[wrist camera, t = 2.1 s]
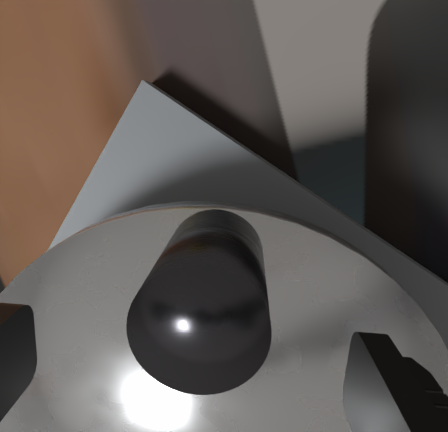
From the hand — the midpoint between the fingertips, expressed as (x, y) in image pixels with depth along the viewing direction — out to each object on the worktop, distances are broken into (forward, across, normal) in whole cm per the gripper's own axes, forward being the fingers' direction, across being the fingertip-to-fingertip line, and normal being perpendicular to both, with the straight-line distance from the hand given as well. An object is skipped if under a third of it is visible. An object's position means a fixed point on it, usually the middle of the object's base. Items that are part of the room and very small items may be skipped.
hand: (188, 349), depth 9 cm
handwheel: (+8, 0, +11) cm, 14 cm away
